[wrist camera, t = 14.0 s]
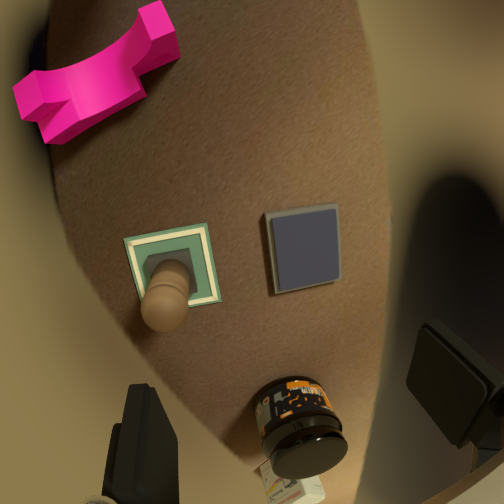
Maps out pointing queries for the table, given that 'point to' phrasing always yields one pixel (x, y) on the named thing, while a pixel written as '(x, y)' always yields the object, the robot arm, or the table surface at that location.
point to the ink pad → (304, 246)
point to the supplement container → (298, 428)
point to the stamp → (168, 290)
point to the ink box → (290, 488)
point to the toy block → (98, 79)
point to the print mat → (175, 240)
